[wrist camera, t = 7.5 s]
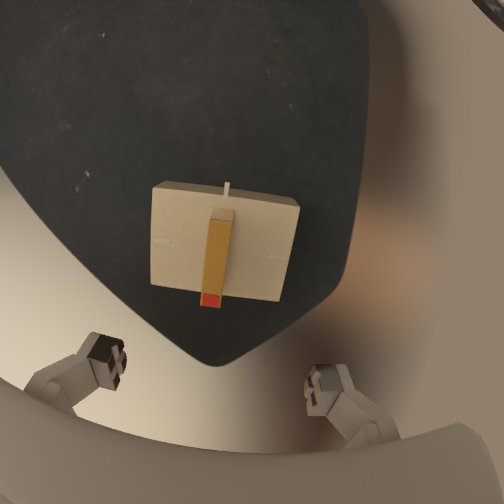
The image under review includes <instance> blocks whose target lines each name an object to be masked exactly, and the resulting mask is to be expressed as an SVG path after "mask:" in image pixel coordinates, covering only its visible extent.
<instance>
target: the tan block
mask: <svg viewBox="0 0 504 504" xmlns="http://www.w3.org/2000/svg"><path fill="white" fill-rule="evenodd" d="M229 186H230V182H225V187H216V186H208V185H200V184H191V183H182V182H172V181H164V182H162V183H160V184H158V185H157V186H155V187H153V194H152V213H151V284H153V285H159V286H165V287H171V288H178V289H184V290H191V291H198V292H201V290H202V279H203V270H204V260H205V251H206V242H207V233H208V225H209V219H210V217H211V215H212V212H213V210H214V208H215V207H218V208H224V209H231V210H234V218H233V224H232V231H231V237H230V244H229V251H228V257H227V264H226V271H225V278H224V285H223V292H222V295H227V296H235V297H243V298H251V299H260V300H269V301H278V302H279V299H280V295H281V291H282V287H283V283H284V279H285V275H286V270H287V266H288V262H289V257H290V253H291V249H292V244H293V240H294V235H295V231H296V226H297V221H298V217H299V212H300V206H299V205H298V204H297V202H296V201H295V200H294V198H290V197H284V196H278V195H272V194H266V193H259V192H253V191H246V190H239V189H232V188H229Z"/></svg>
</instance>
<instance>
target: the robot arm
mask: <svg viewBox="0 0 504 504" xmlns="http://www.w3.org/2000/svg"><path fill="white" fill-rule="evenodd" d="M497 1H498V2H499V4H500V5H501V6H503V7H504V0H497ZM123 348H124V343H123V341H122V340H121V339H117V338H113V337H110V336H106V335H103V334H99V333H95V332H91V333H90V334H89V335H88V337H87V338H86V340H85V342H84V343H83V344H82V346H81V348H80V349H79V351H78V352H77V354H76V355H74V354H72V355H70V356H68V357H66V358H64V359H62V360H60V361H58V362H56V363H54V364H52V365H50V366H47V367H45V368H43V369H41V370H39V371H37V372H35V373H34V375H33V376H32V378H31V379H30V381H29V382H28V384H27V385H26V387H25V389H24V390H21V389H19V388H17V387H15V386H14V385H12V384H10V383H9V382H7V381H5V380H3V379H2V378H0V504H504V501H503V496H502V492H501V487H500V483H499V479H498V476H497V473H496V470H495V467H494V464H493V461H492V458H491V456H490V453H489V450H488V448H487V445H486V443H485V441H484V439H483V438H482V436H481V435H480V434H478V433H477V432H476V431H474V430H473V429H471V428H470V427H468V426H467V425H465V424H463V423H455V424H452V425H449V426H446V427H443V428H440V429H437V430H434V431H430V432H427V433H424V434H420V435H417V436H413V437H409V438H405V439H401V438H400V435H399V432H398V430H397V427H396V425H395V422H394V419H393V418H392V417H390V416H389V415H388V414H386V413H385V412H384V411H383V410H381V409H380V408H379V407H378V406H376V405H375V404H374V403H373V402H371V401H370V400H369V399H368V398H366V397H365V396H364V395H363V394H362V393H360V392H359V391H355V388H354V385H353V383H352V380H351V377H350V374H349V372H348V369H347V366H346V365H344V364H335V365H333V364H324V365H323V364H313V365H312V366H311V367H310V370H309V371H310V375H308V376H307V377H306V380H305V382H304V396H305V397H306V398H307V399H308V401H307V403H306V407H307V412H308V416H326V417H327V418H328V419H329V421H330V422H331V423H332V424H333V425H334V426H335V427H336V429H338V431H339V432H340V433H341V434H342V435H343V436H344V437H345V439H346V440H347V441H348V442H349V443H348V444H347V445H346V446H345V447H344V448H343V450H337V451H327V452H314V453H297V454H296V453H294V454H261V453H259V454H258V453H240V452H228V451H217V450H208V449H201V448H194V447H188V446H182V445H176V444H171V443H166V442H161V441H156V440H152V439H148V438H143V437H140V436H136V435H132V434H129V433H125V432H121V431H118V430H115V429H112V428H109V427H106V426H102V425H100V424H97V423H94V422H91V421H88V420H86V419H83V418H80V417H78V416H77V415H76V413H75V412H74V410H73V408H72V407H73V406H74V405H76V404H77V403H78V402H80V401H81V400H83V399H84V398H85V397H87V396H88V395H89V394H91V393H92V392H94V391H95V390H96V389H98V388H99V387H102V388H106V389H109V390H114V391H116V389H117V387H118V384H119V382H120V377H119V375H121V374H123V373H124V371H125V368H126V363H127V358H126V353H125V352H124V351H123Z"/></svg>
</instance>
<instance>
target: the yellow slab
mask: <svg viewBox="0 0 504 504" xmlns="http://www.w3.org/2000/svg"><path fill="white" fill-rule="evenodd" d="M233 218H234V210H231V209H224V208H218V207H215V208H214V210H213V212H212V215H211V217H210V219H209V225H208V233H207V242H206V251H205V260H204V270H203V279H202V290H201V301H200V305H201V306H208V307H214V308H220V307H221V300H222V292H223V285H224V278H225V271H226V264H227V257H228V251H229V244H230V237H231V231H232V224H233Z"/></svg>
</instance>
